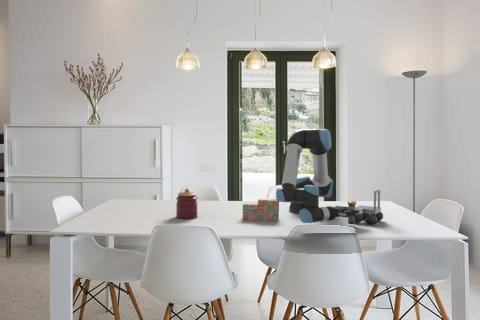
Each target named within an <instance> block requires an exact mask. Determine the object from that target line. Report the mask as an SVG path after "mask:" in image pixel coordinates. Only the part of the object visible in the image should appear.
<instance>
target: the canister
mask: <svg viewBox="0 0 480 320" xmlns="http://www.w3.org/2000/svg"><path fill="white" fill-rule="evenodd" d="M197 200H198V197H197V193H195V191H190V189H189V188H187V187H186V188H185V189H184V191H180V192H178V193H177V197H176V203H175V204H176V207H175V209H176V211H175V212H176V213H175V215H176V218H177V219H180V220H181V219H182V220H189V219H191V220H192V219H196V218H198V201H197Z"/></svg>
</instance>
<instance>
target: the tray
mask: <svg viewBox="0 0 480 320" xmlns="http://www.w3.org/2000/svg"><path fill="white" fill-rule="evenodd" d="M332 207H333V208H342V207H343V208H345V207H347V208H348V206H343V205H334V206H332ZM346 218H348V216H347V217H346Z"/></svg>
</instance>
